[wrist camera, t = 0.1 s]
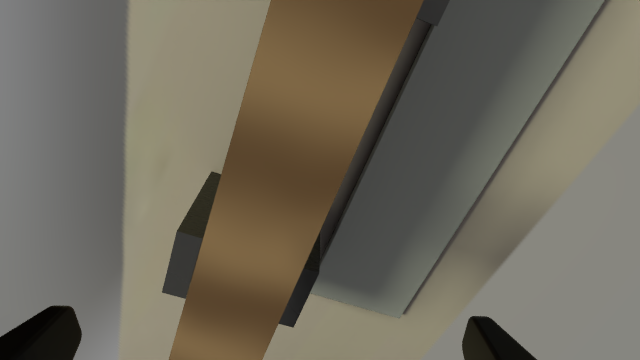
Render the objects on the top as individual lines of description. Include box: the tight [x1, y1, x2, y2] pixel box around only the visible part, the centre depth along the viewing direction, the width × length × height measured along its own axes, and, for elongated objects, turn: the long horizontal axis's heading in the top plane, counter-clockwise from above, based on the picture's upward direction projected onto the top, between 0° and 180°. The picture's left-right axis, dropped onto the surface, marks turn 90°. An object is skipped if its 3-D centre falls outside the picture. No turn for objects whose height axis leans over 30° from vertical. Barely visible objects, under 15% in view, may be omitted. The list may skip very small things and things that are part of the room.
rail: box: [169, 0, 424, 360], centre depth 15 cm, size 22×4×4 cm, turn 160°
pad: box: [310, 0, 604, 318], centre depth 22 cm, size 25×7×1 cm, turn 160°
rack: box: [162, 0, 450, 327], centre depth 19 cm, size 20×7×6 cm, turn 160°
